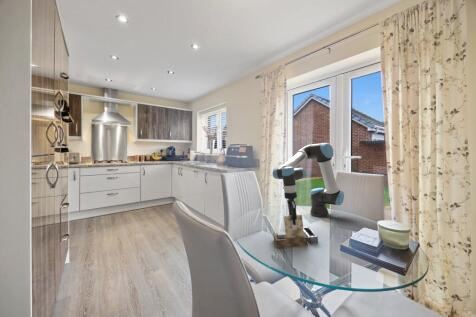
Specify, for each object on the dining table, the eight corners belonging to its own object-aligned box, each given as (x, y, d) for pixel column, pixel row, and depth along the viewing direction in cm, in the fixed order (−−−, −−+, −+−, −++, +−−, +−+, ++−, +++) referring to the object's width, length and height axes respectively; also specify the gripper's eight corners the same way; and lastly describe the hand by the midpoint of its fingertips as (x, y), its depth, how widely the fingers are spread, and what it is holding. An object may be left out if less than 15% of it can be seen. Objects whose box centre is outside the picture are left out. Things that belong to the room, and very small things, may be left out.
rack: (302, 237, 133) (301, 229, 133) (307, 245, 121) (307, 237, 121) (274, 239, 134) (273, 232, 134) (277, 248, 122) (276, 240, 121)
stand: (301, 233, 139) (301, 227, 139) (309, 232, 139) (309, 226, 139) (309, 243, 123) (308, 237, 123) (318, 242, 123) (317, 236, 123)
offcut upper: (284, 235, 132) (283, 231, 132) (286, 238, 127) (286, 234, 127) (276, 236, 132) (276, 232, 132) (278, 239, 127) (278, 235, 127)
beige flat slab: (303, 237, 125) (300, 213, 125) (304, 238, 123) (301, 214, 123) (286, 238, 125) (283, 215, 125) (286, 240, 123) (284, 216, 123)
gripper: (281, 190, 131) (285, 224, 132) (286, 194, 116) (290, 234, 117) (293, 188, 131) (296, 223, 132) (299, 193, 116) (303, 232, 116)
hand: (294, 228), depth 124 cm, fingers closed on beige flat slab, 2 cm apart
